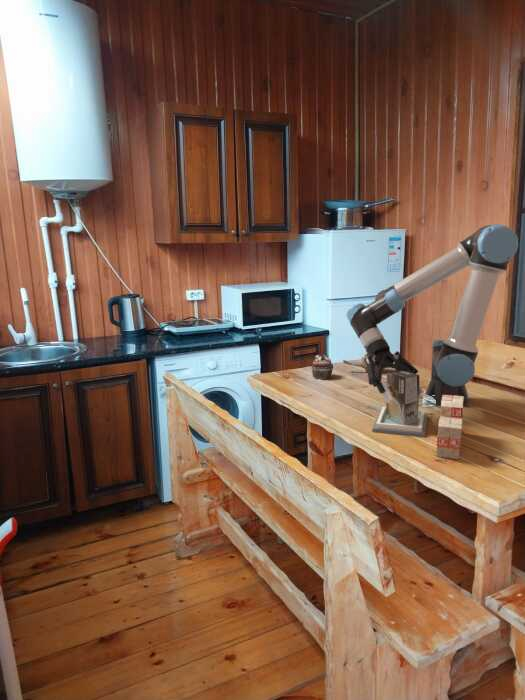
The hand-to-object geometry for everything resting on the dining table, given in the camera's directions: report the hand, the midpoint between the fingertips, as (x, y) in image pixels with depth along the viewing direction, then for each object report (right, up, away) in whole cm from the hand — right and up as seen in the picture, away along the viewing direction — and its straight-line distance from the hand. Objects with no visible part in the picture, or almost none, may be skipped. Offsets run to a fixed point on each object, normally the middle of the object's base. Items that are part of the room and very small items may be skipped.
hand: (406, 397), depth 170 cm
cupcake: (-20, +3, +62) cm, 65 cm away
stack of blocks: (+9, -13, -13) cm, 21 cm away
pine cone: (+1, +5, +69) cm, 69 cm away
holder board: (-1, -9, +4) cm, 10 cm away
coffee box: (0, -8, +4) cm, 9 cm away
